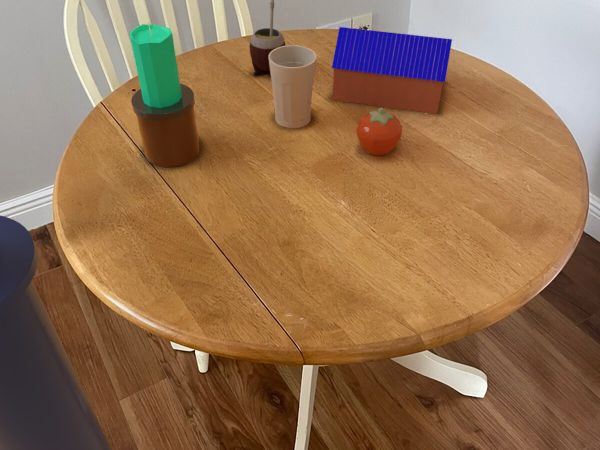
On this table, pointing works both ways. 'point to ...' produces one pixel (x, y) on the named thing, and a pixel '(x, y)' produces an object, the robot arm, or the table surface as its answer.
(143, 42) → the candle
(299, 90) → the cup
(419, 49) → the house
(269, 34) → the mate gourd
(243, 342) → the table surface
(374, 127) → the tomato
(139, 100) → the jar
